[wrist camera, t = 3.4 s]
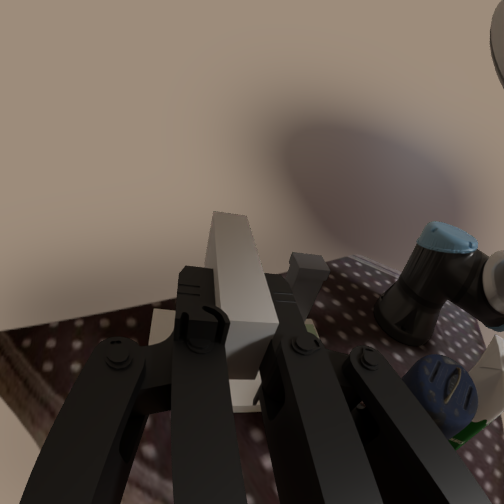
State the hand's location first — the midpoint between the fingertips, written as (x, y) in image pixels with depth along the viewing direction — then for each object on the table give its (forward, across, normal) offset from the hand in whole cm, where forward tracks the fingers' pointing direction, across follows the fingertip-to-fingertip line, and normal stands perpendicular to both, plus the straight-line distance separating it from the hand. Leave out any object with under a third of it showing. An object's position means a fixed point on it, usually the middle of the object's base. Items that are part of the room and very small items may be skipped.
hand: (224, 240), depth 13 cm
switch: (+18, +15, -24) cm, 33 cm away
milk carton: (-5, +38, -27) cm, 46 cm away
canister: (-4, +23, -27) cm, 35 cm away
